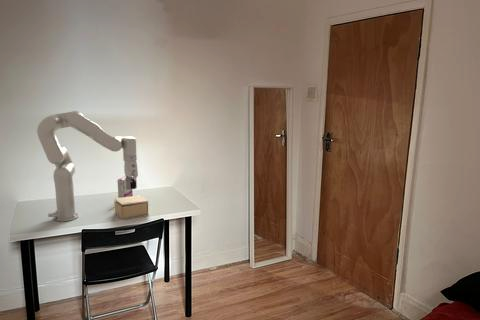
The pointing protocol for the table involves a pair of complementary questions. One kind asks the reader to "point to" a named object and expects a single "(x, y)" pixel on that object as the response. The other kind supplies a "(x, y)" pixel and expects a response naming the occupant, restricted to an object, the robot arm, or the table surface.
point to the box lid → (130, 200)
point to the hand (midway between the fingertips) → (131, 186)
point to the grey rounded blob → (129, 183)
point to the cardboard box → (131, 210)
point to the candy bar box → (123, 188)
